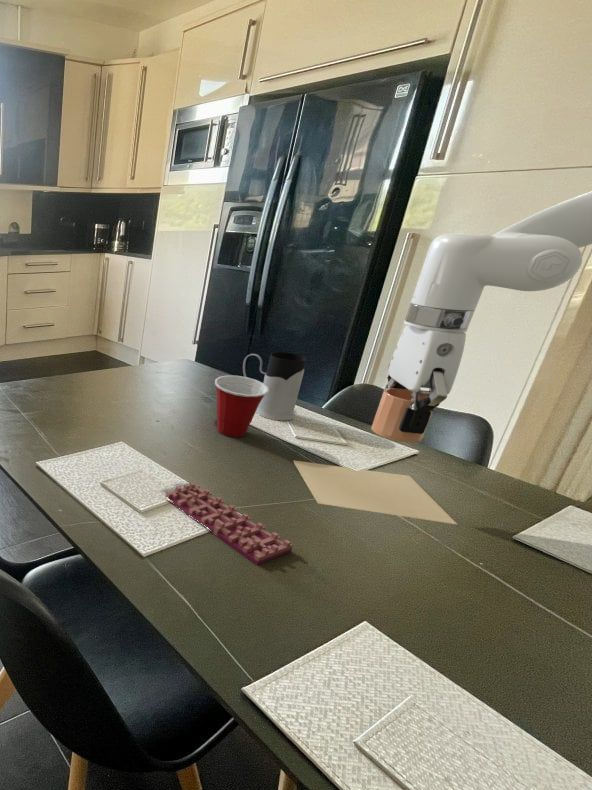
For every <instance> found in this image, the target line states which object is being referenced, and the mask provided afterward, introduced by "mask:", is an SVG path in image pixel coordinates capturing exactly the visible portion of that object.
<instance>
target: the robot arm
mask: <svg viewBox="0 0 592 790" xmlns="http://www.w3.org/2000/svg"><path fill="white" fill-rule="evenodd" d="M590 245H592V190H591V191H588V192H586V193H582V194H580V195H576V196H574V197H571V198H569V199H566V200H564V201H562V202H559V203H556V204H554V205H551V206H549V207H547V208H545V209H542V210H540V211H538V212H536V213H533V214H532V215H530V216H528V217H526V218H524V219H522V220H519V221H518V222H515V223H514V224H511V225H510V226H507V227H506V228H504V229H501V230H499V231H497V232H495V233H494V234H492V235H489V234H477V233H443V234H439V235H438V236H436V237H435V238H434V239H433V240H432V241H431V242H430V245H429V248H428V250H427V253H426V257H425V260H424V263H423V265H422V267H421V268H422V269H421V271H420V274H419V277H418V280H417V283H416V286H415V289H414V292H413V295H412V298H411V301H410V304H409V307H408V310H407V312H406V316H405V319H404V321H403V324H404V325H405V326H404V328H403V330H402V333H401V335H400V337H399V339H398V342H397V344H396V346H395V349H394V351H393V354H392V357H391V360H390V363H389V364H388V373H387V374H388V375H387V378H386V379H387V383H386V385H385V388H384V389H388V388H399V389H407V390H410V391H411V403H410V408H406V410H405V413H404V416H403V419H402V421H401V424H400V427H399V430H400V431H402V432H408V433H417V434H423V433H424V431H425V428H426V426H427V427H428V425H427V423H428V421H429V422H430V420H429V418H430V415H431V413H432V412H433V413H434V412H436V411H435V410H436V408H437V407H439V406H440V404H441V403H443V402H444V401H445V400H446V399H447V398H448V395H449V394H450V393H451V391H452V388H453V386H454V383H455V381H456V377H457V375H458V371H459V369H460V364H461V362H462V357H463V354H464V350H465V345H466V337H467V332H468V329H469V326H470V323H471V321H472V319H473V317H474V313H475V311H476V309H477V306H478V304H479V301H480V299H481V297H482V293H483V291H484V288H485V287H488V286H489V287H497V288H503V289H508V290H514V291H521V292H541V291H546V290H550V289H553V288H556V287H559V286H561V285H563V284H565V283H567V282H569V280H571V279H572V278H573V277H575V275H576V274H577V273H578V272H579V270H580V269H581V266H582V262H583V255H582V251H581V249H580V248H583V247H586V246H590ZM421 388H423V389H421ZM424 388H425V389H428V390H425V389H424ZM419 395H425V396H428V398H426V397H425V398H423V399H422V400H420V401H419ZM433 413H432V414H433ZM431 416H432V415H431ZM430 419H431V418H430ZM428 424H429V423H428ZM426 429H427V428H426ZM425 432H426V431H425ZM424 434H425V433H424Z"/></svg>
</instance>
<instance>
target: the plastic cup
mask: <svg viewBox="0 0 592 790" xmlns="http://www.w3.org/2000/svg"><path fill="white" fill-rule="evenodd" d="M214 385H215V387H216V396H217V397H216V398H217V399H216V401H217V402H216V420H217V421H216V424H217V425H216V428H217V432H218V433H219V434H221V435H222V436H226V437H230V438H243V437H244V436H245V435H246V433H247V431H248V429H249V427H250V424H251V423H252V421H253V419H254V416H255V414H256V410H257V408H258V406H259V403H260V402H261V400H262V398H263V397H264V395H265V394H267V393H268V391H269V390H268V387H267V386H266V385H265V384H264V383H263V382H262V381H260V380H258V379H254V378H251V377H247V376H246V377H244V376H243V375H242V376H241V375H222V376H218V377H217V378H215V380H214Z"/></svg>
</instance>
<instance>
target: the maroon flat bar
mask: <svg viewBox="0 0 592 790" xmlns="http://www.w3.org/2000/svg"><path fill="white" fill-rule="evenodd" d="M212 494H213V493H212V492H211V491H210V490H209V489H207V488H206V489H204V490H203V489H202V488H201V485H200V484H197V483H194V482H189V484H188V483H186V484H184V485H183V487H180V486H176V487H175V488H174V490H172V491H168V492H166V493H165V498H166V497H168V498H169V499H170V500H172V501H173V503H174V505H175V506H174V505H173V506H174V507H176V506H177V507H178V508H180V509H181V510H183V511H184V512H186V513H187V514H188V515H190V516H192V517H193V518H194V519H196V520H198V521H199V522H200V523H202V524H203V525H205V526H206V527H208V528H209V529H210V530H211V532H210V533H211V534H213V535H215V536H216V537H217V538H218V539H220V540H221V541H223V542H224V543H225V544H227V545H228V546H229V547H231V548H232V549H233V550H235V551H237V552H238V553H239V554H241V555H242V556H243V557H245V558H246V559H248V560H249V561H251V562H252V563H253V564H254V565H256V566H259V565H261V564H264V563H266V562H269V561H272V560H275V559H277V558H279V557H282V556H284V555H287V554H290V553H292V550H293V546H294V545H293V544H292V542H291V541H289V540H288V539H285V540H282V539H281V538H282V537H281V536H280V534H279V533H277V532H275V531H274V532H271V533H270V532H269V531H268V530H266V526H264V524H263V523H261V522H257V523H255V522H254V521H252V520H251V519H252V518H251V517H250V516H249V515H248V513H243V514H241V513H240V512H238V509H237V508H236V506H235V505H233V504H229V505H227V504H226V503H225V500H223V498H222V497H221V496H217V497H214V496H212ZM177 507H176V508H177ZM178 508H177V509H178ZM180 509H179V510H180ZM181 510H180V511H181ZM184 512H183V513H184ZM187 514H186V515H187ZM188 515H187V516H188ZM194 519H193V520H194Z"/></svg>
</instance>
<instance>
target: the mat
mask: <svg viewBox="0 0 592 790" xmlns="http://www.w3.org/2000/svg"><path fill="white" fill-rule="evenodd" d="M292 462H293V464H294V465H295V467H296V469H297V470H298V472H299V474H300V476H301V477H302V479H303V481H304V482H305V485H306V486H307V488H308V489H309V491H310V493H311V495H312V496H313V498H314V500H315V501H316V503H317V504H320V505H327V506H333V507H339V508H347V509H352V510H358V511H366V512H373V513H379V514H386V515H393V516H399V517H406V518H412V519H419V520H426V521H431V522H439V523H444V524H452V525H458V523H457V522H456V521H455V520H454V519H453V518H452V517H451V516H450V515H449V514H448V513H447V512H446V511H445V510H444V509H443V508H442V507H441V506H440V505H439V504H438V503H437V502H436V501H435V500H434V498H432V497H431V496H430V495H429V494H428V493H427V492H426V491H425V490H424V489H423V488H422V486H420V485H419V484H418V483H417V481H415V480H414V479H413V477H411V476H410V475H407V474H398V473H392V472H391V473H390V472H384V471H383V472H382V471H376V470H368V469H362V470H363V471H354V470H351V469H349V468H350V467H345V466H338V465H330V464H323V463H315V462H307V461H301V460H292Z"/></svg>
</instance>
